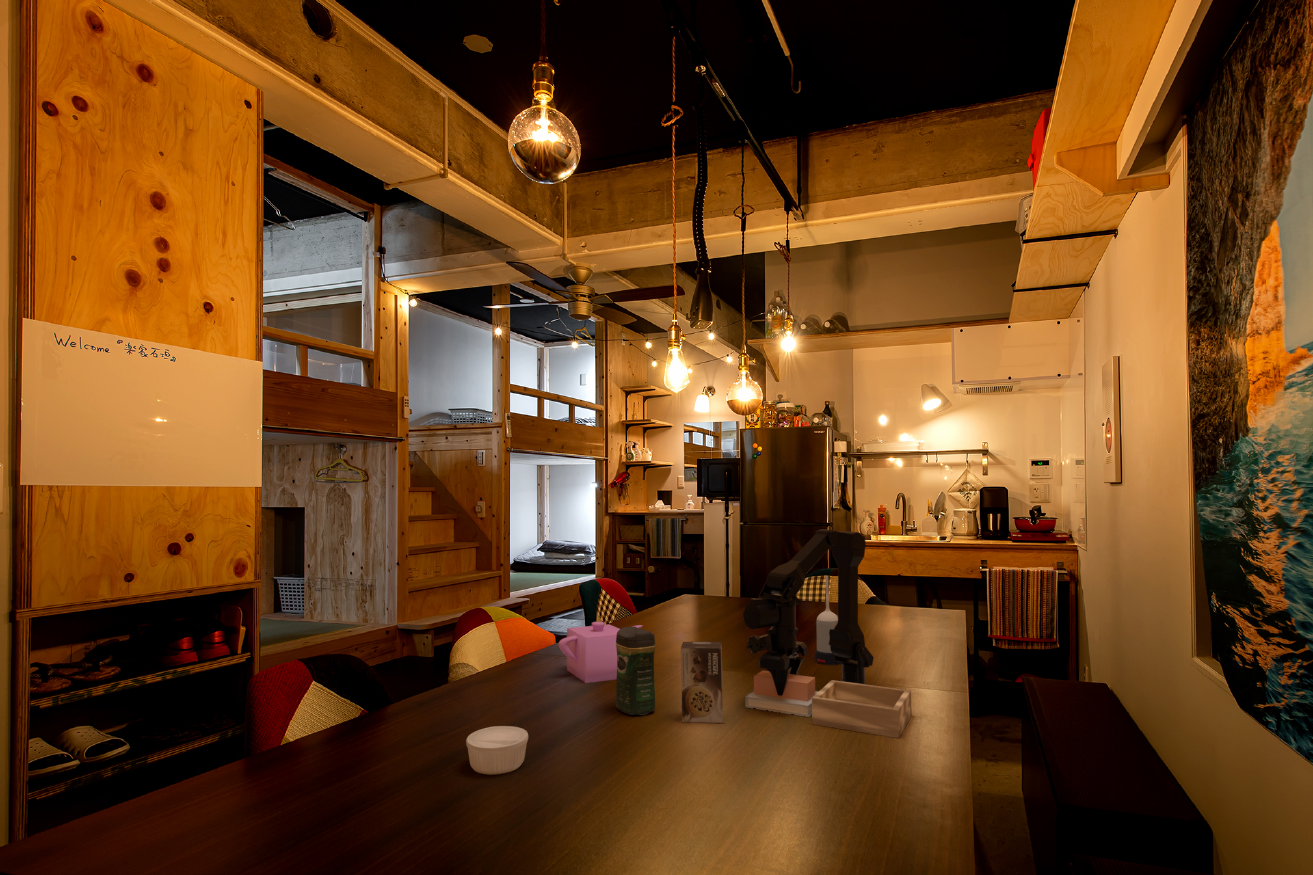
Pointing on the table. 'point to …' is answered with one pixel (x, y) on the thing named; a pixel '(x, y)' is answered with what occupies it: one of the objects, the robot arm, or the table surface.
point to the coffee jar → (635, 671)
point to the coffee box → (701, 682)
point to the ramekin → (497, 749)
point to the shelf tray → (862, 708)
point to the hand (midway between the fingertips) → (784, 691)
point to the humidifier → (825, 633)
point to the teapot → (591, 652)
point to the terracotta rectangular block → (794, 689)
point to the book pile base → (778, 700)
